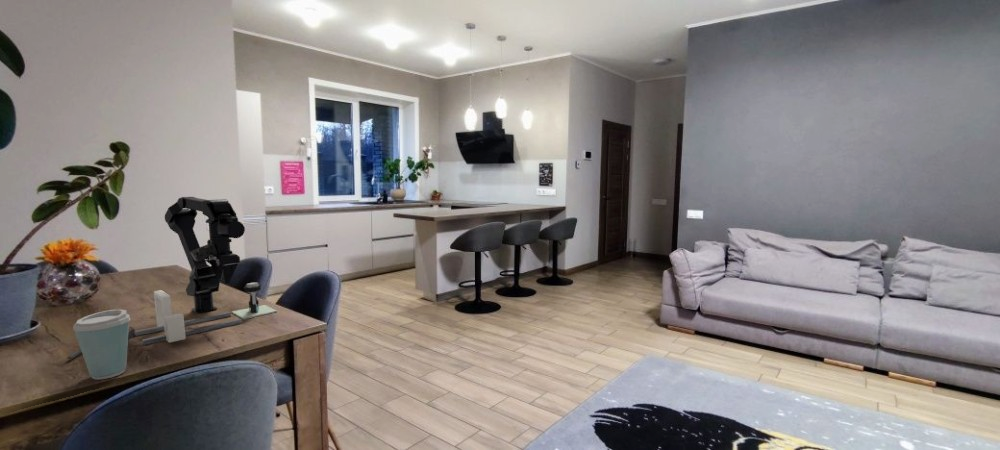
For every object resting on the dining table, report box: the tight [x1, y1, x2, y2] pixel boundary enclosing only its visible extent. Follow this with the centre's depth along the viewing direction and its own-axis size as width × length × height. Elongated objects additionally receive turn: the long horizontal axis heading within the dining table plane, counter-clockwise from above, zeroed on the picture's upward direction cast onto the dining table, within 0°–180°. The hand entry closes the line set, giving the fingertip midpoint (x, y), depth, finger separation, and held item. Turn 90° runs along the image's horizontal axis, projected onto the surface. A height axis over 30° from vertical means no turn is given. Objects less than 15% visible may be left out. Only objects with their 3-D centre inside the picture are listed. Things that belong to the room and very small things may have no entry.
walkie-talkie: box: [67, 326, 136, 361], centre depth 130 cm, size 9×4×20 cm
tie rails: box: [134, 311, 243, 346], centre depth 145 cm, size 13×26×1 cm, turn 137°
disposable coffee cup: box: [72, 309, 131, 380], centre depth 111 cm, size 11×11×15 cm
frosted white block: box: [153, 289, 186, 343], centre depth 137 cm, size 20×4×11 cm, turn 47°
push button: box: [243, 282, 262, 313], centre depth 161 cm, size 7×5×10 cm
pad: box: [231, 304, 278, 320], centre depth 162 cm, size 11×11×1 cm
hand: (223, 281), depth 157 cm, fingers open, 9 cm apart
